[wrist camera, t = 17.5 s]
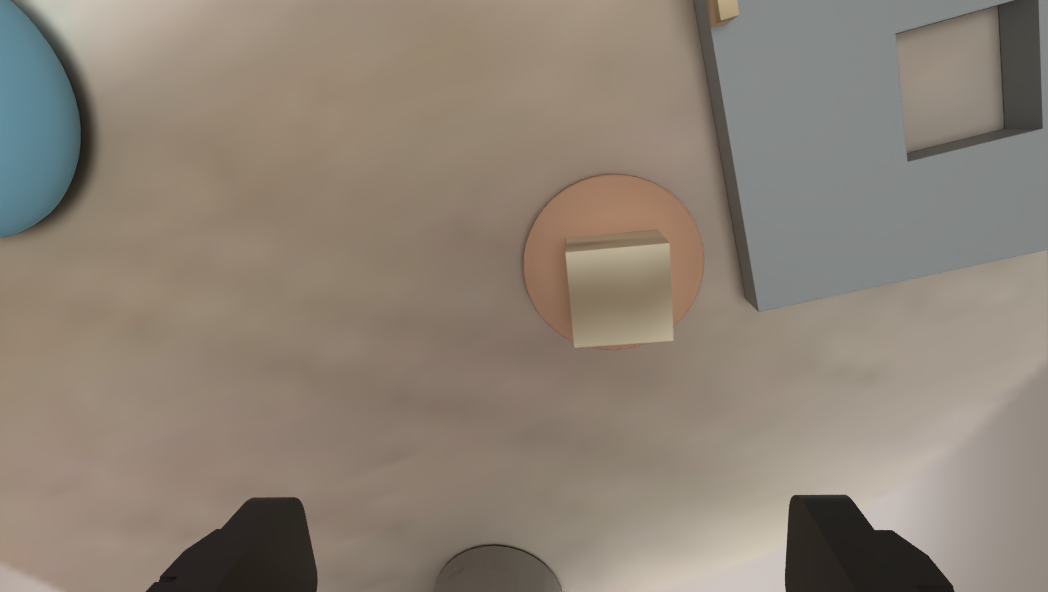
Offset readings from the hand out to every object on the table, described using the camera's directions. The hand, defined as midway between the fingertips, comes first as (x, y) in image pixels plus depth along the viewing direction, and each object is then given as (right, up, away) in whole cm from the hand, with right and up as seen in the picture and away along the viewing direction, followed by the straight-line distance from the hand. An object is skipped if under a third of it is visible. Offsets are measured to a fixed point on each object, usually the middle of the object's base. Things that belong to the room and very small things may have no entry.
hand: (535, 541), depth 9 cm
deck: (+17, +17, +19) cm, 31 cm away
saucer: (+5, +6, +24) cm, 25 cm away
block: (+5, +5, +23) cm, 24 cm away
